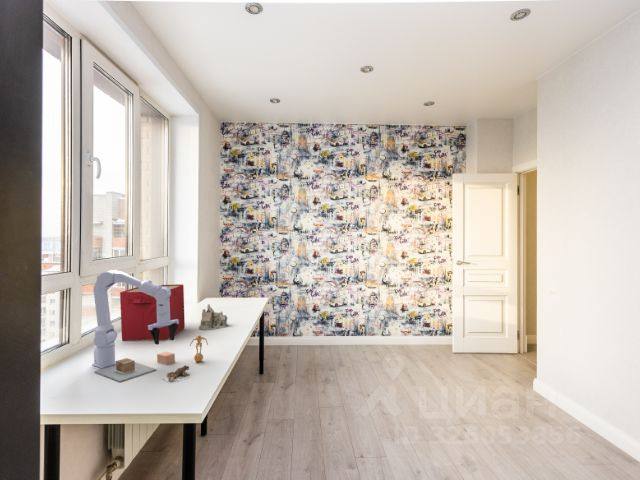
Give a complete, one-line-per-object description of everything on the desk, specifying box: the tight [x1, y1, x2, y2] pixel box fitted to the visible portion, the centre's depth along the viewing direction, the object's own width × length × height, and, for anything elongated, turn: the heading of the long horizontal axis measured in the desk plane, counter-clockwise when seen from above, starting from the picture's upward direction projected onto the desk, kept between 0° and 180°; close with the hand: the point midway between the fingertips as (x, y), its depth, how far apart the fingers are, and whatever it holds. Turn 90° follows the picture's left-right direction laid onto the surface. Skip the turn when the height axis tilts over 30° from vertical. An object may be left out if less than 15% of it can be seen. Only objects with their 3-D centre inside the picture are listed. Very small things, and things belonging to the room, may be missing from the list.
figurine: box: [189, 335, 209, 363], centre depth 177 cm, size 8×6×12 cm
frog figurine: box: [162, 365, 190, 384], centre depth 158 cm, size 12×12×4 cm
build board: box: [94, 362, 157, 383], centre depth 166 cm, size 22×16×1 cm
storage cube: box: [119, 283, 186, 342], centre depth 230 cm, size 32×28×29 cm
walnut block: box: [115, 357, 135, 373], centre depth 166 cm, size 7×5×4 cm, turn 55°
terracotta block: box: [156, 351, 176, 366], centre depth 177 cm, size 7×5×4 cm, turn 55°
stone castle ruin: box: [198, 303, 229, 331], centre depth 244 cm, size 16×16×15 cm
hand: (164, 341), depth 177 cm, fingers open, 7 cm apart
